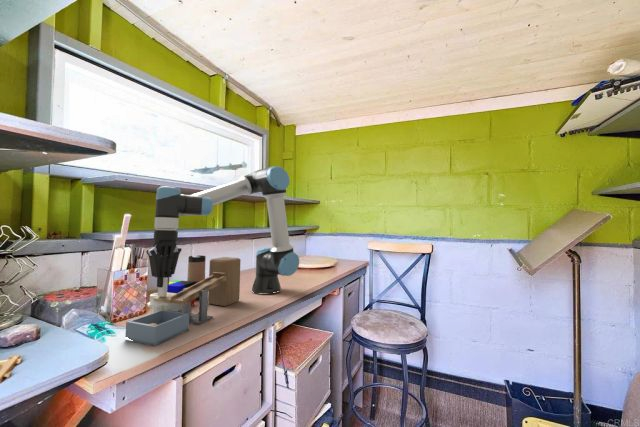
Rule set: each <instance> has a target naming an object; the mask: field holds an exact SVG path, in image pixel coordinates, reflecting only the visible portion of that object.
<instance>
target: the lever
mask: <svg viewBox="0 0 640 427" xmlns="http://www.w3.org/2000/svg"><path fill="white" fill-rule="evenodd" d="M224 281H226V273H220V272H213V275H212V276H210V277H209V276H208V277H205V279H204V280H202V281H200V282H198V283H196V284H194V285H192V286H191V287H189V288H187V289H185V290H183V291H181V292H179V293H168V292H167V296H165V297H161V296H157V297H155V298H153V299H154V301H155V302H163V303H176V304H184V305H186V304H187V303H189V302H191V301H192V300H194V299H196V298H197V297H199V296H200V291H201V290H204V289H208V292H209V290H211V289H213V288H214V287H216V286H218V285H219V284H221V283H223V282H224Z"/></svg>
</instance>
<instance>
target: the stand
mask: <svg viewBox="0 0 640 427" xmlns="http://www.w3.org/2000/svg"><path fill="white" fill-rule="evenodd" d="M188 288H189V287H188ZM185 289H187V288H184V289H183V290H185ZM208 294H209V291H208V289H204V290H201V291H200V297H199V300H198V303H199V304H198V313H193V312H191V309H192V308H191V307H192V306H191V302H189V303H187V304H186V305H184V304H182V310H181V312H182V313H188V314H189V324H192V325H197V326H199V325H200V326H201V325H202V324H204V323H206V322H208V321H211V320H212V319H214V316H212V315H208V309H209V308H208V307H209V306H208V305H209V303H208Z"/></svg>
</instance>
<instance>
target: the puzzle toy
mask: <svg viewBox="0 0 640 427" xmlns="http://www.w3.org/2000/svg"><path fill="white" fill-rule="evenodd" d="M194 284H195V282H194V281H187V280H176V279H175V280H173V281H171V280H170V281H169V285H168V286H167V292H168V293H179V292H181V291H183V289H184V288H188V287H191V286H192V285H194ZM195 302H196V300H195V299H194V300H192V301H191V307H192V306H194V305H195ZM162 310H168V311H175V312H181V311H182V304H176V303H168V305H165V306H162Z"/></svg>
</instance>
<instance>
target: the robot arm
mask: <svg viewBox="0 0 640 427" xmlns="http://www.w3.org/2000/svg"><path fill="white" fill-rule="evenodd" d="M290 181H291V180H290V176H289V174H288V171H286V170H285V169H284V168H283V167H281V166H275V165H274V166H269V167H267V168H266V167H265V168H262V169H258V170H255V171H253V172H251V173H249V174H246V175H243V176H241V177H239V179H237V180H234V181H231V182H229V183H225V184H222V185H219V186H218V185H217V186H215V187H212V188H210V189H206V190H202V191H199V192H196V193H192V194H183V193H181V189H180V188H178V187H174V186H160V187H158V188H157V189H156V194H155V195H156V196H155V212H154V214H155V215H154V227H153V229H155V230H154V231H153V241H154V243H153V245H152V246H153V247H152V248H151V249H146V252H145V253H146V254H147V256H148V260H149V267H150V272H151V277H153V278H156V288H157V293H158V296H161V297H165V296H167V286H168V285H169V282H170V278H172V276H173V275H174V274H175V272H176V268H177V265H178V260H179V256H180V254H181V252H182V248H180V247H178V245H177V243H176V242H177V241H178V236H179V232H178V229H179V218H180V217H184V216H202V217H203V216H210V215H211V213H212V211H213V208H214V206H215V205H218V204H221V203H224V202H227V201H229V200H232V199H235V198H238V197H241V196H244V195H246V196H249V195H252V194H257V193H261V194H262V196H263V197H264V198H265V199H266V206H267V214H268V221H269V222H268V223H269V229H270V236H271V238H270V239H271V244H272V246H271V247H266V248H259V249H257V250H256V254H255V278H254V281H253V283H252V287H251V292H252V291H253V292H254V293H253V292H252V293H253V294H255V293H273V292H277V291H280V290H281V288H282V287H281V282H280V279H279V277H278V275H280V276H282V277H285V276H287V277H290V276H292V275H293V274H295V273H296V272H297V270H298V269H299V266H300V257H299V255H298V254H297V253H296V252H294V246H293V245H292V244H290V236H289V229H288V228H289V227H288V222H287V221H288V220H287V214H286V212H287V211H286V204H285V196H286V194H287V189H288V187H289V185H290ZM281 291H282V290H281ZM281 291H280V292H281Z"/></svg>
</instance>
